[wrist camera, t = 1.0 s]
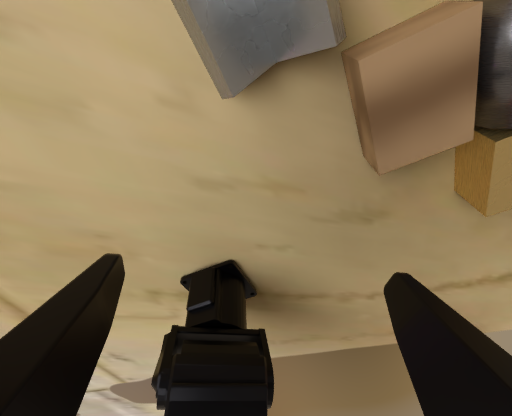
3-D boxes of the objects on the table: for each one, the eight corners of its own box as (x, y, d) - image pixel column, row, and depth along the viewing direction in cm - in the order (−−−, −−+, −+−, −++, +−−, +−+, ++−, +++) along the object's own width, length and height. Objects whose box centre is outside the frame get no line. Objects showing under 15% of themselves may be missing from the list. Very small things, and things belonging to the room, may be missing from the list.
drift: (501, 172, 24) (542, 198, 20) (453, 189, 24) (485, 217, 21) (513, 96, 19) (567, 115, 16) (455, 119, 20) (495, 142, 17)
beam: (633, 47, 18) (695, 55, 15) (363, 156, 22) (379, 175, 19) (700, -124, 13) (803, -152, 11) (341, 52, 17) (358, 61, 14)
